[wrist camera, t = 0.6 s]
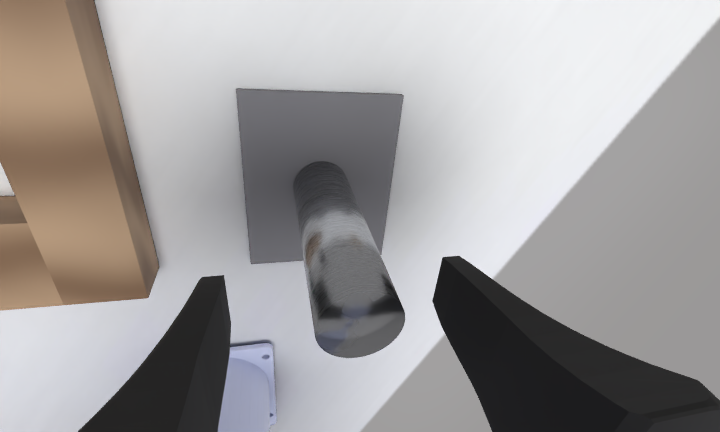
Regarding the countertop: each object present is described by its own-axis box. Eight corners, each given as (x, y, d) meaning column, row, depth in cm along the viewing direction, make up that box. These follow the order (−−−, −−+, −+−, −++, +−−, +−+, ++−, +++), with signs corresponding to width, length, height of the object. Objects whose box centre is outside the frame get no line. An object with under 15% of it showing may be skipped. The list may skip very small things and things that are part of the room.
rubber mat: (379, 252, 24) (380, 255, 24) (251, 260, 22) (250, 264, 22) (401, 94, 19) (403, 95, 19) (236, 88, 17) (236, 90, 17)
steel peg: (346, 209, 22) (398, 351, 13) (293, 211, 21) (314, 363, 13) (349, 160, 20) (411, 288, 12) (292, 161, 19) (316, 297, 11)
